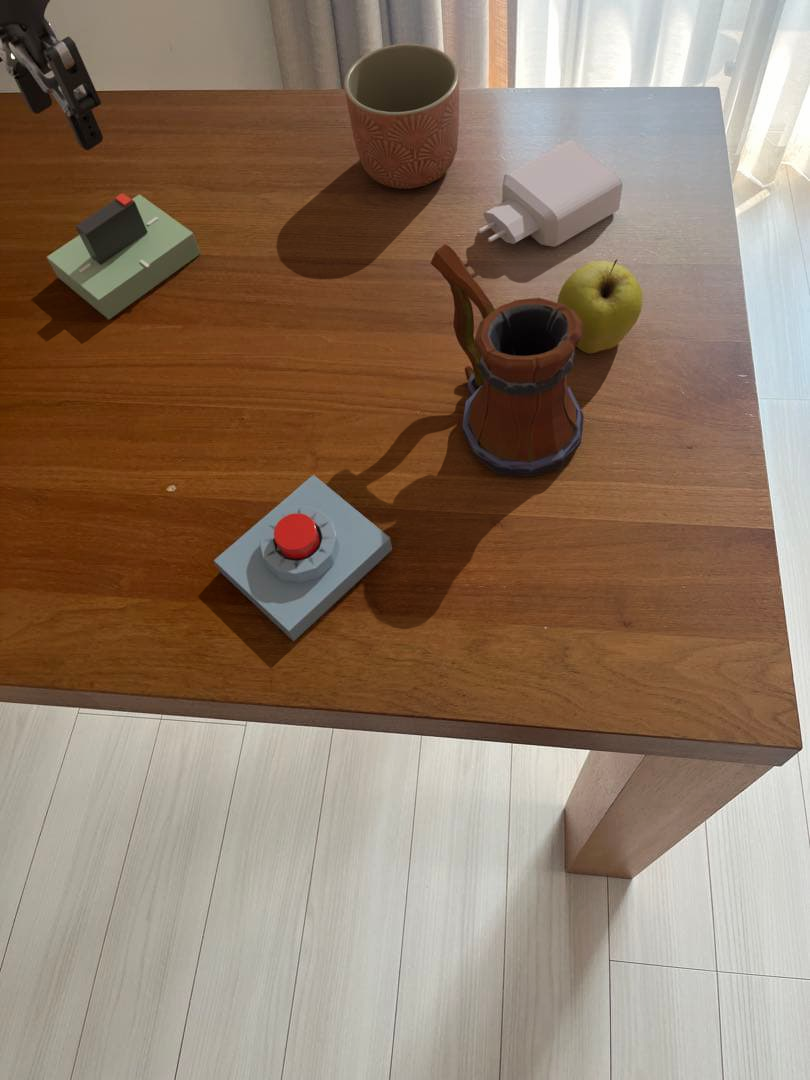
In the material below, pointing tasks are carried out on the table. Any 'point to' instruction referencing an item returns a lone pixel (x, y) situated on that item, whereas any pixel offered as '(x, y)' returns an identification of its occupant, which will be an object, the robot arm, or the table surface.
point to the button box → (304, 559)
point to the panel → (127, 262)
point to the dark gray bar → (112, 228)
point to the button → (296, 536)
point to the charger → (554, 197)
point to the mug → (515, 376)
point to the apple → (602, 303)
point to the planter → (404, 113)
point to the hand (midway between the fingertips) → (67, 126)
